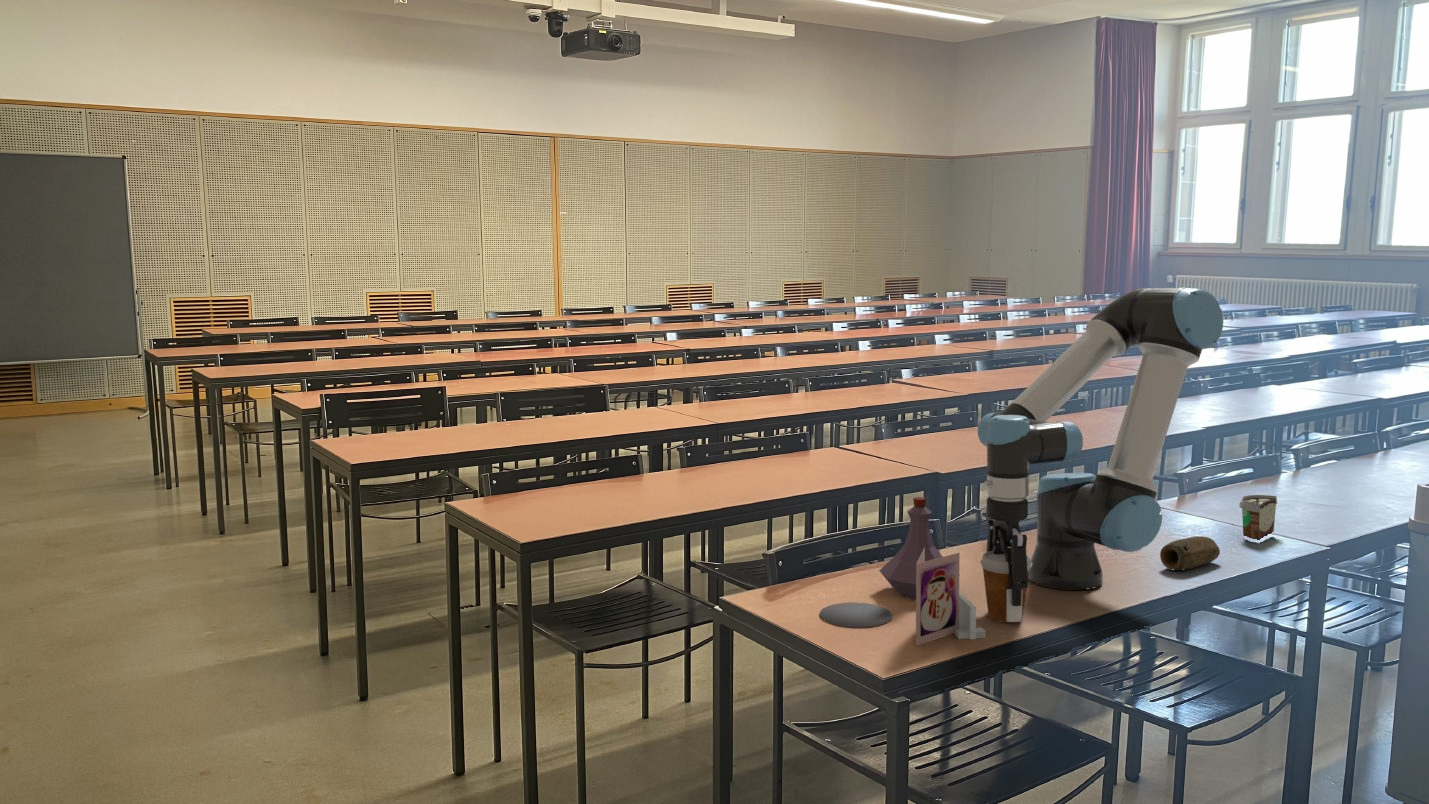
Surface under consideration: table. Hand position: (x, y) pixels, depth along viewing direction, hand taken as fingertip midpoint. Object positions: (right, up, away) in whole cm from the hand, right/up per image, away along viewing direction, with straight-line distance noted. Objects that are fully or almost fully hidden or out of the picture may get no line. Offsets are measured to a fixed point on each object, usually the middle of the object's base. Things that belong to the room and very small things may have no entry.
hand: (1005, 613), depth 191 cm
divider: (-10, -1, -3) cm, 10 cm away
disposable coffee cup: (0, -1, 0) cm, 1 cm away
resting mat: (-28, -1, +3) cm, 28 cm away
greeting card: (-17, -2, -8) cm, 19 cm away
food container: (+76, +7, +53) cm, 93 cm away
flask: (-13, +1, +16) cm, 21 cm away
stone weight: (+50, +4, +31) cm, 59 cm away
